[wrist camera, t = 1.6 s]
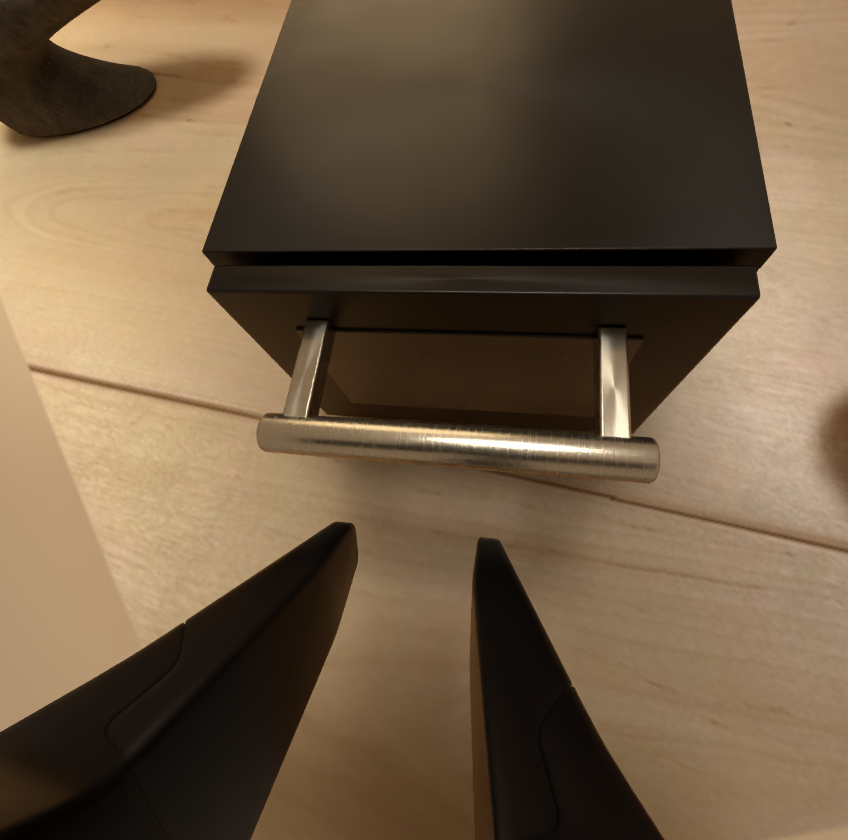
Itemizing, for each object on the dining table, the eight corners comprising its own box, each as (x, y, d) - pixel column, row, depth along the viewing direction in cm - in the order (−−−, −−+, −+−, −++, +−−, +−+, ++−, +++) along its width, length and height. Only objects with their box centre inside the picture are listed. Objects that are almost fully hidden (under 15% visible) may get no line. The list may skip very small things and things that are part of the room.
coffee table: (1, 151, 40) (-137, 30, 31) (25, 88, 43) (-94, -38, 34) (260, 95, 37) (189, -54, 28) (266, 33, 40) (203, -119, 32)
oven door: (636, 530, 19) (791, 473, 9) (309, 497, 22) (157, 426, 12) (631, 414, 21) (756, 263, 11) (330, 397, 23) (213, 264, 14)
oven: (627, 425, 23) (778, 247, 11) (337, 407, 26) (201, 251, 14) (619, 229, 27) (721, -55, 15) (372, 232, 30) (292, -4, 18)
